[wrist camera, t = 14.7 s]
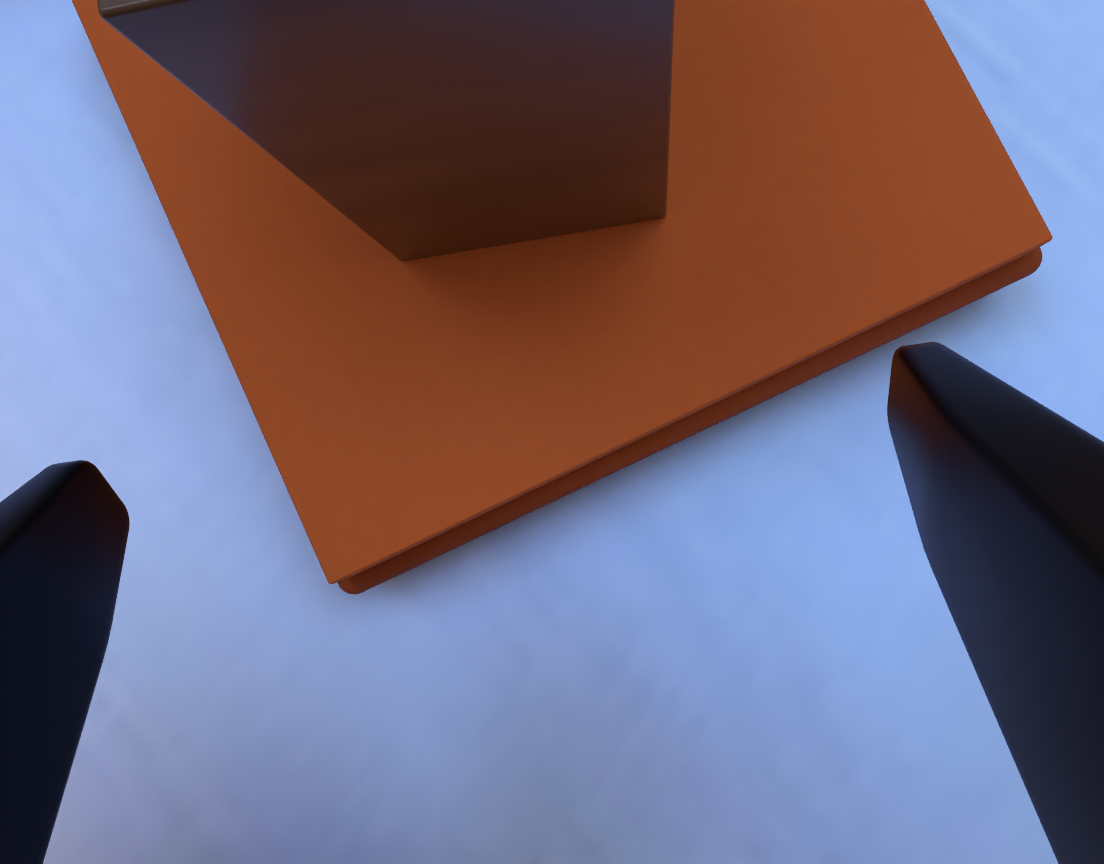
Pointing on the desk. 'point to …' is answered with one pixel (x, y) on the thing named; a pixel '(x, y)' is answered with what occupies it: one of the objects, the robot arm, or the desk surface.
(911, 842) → the desk surface
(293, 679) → the desk surface
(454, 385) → the flat square box
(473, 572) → the desk surface
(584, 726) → the desk surface
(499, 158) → the remote caddy
